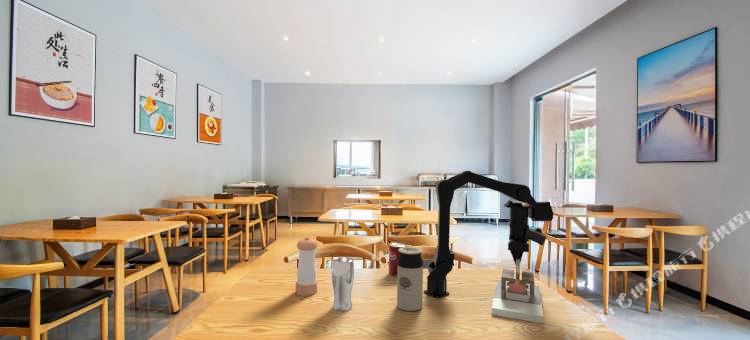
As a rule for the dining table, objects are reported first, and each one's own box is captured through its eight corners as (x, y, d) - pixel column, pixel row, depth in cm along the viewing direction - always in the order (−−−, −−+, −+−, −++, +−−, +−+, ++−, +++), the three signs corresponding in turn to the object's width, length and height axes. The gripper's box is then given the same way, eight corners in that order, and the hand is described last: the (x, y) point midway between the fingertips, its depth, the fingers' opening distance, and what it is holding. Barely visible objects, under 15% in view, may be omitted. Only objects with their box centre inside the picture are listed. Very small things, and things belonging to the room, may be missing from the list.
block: (525, 301, 108) (526, 285, 108) (508, 298, 110) (509, 282, 110) (525, 295, 112) (525, 280, 112) (509, 293, 114) (509, 278, 114)
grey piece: (528, 302, 106) (529, 266, 106) (506, 298, 109) (506, 263, 109) (528, 293, 114) (528, 259, 114) (507, 290, 116) (507, 257, 116)
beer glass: (357, 304, 108) (357, 257, 108) (348, 313, 102) (348, 263, 101) (337, 301, 110) (337, 255, 110) (327, 310, 104) (327, 261, 104)
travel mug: (407, 299, 113) (408, 245, 113) (427, 306, 107) (428, 249, 107) (391, 306, 107) (392, 249, 107) (411, 314, 102) (412, 254, 102)
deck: (543, 323, 97) (543, 316, 97) (491, 314, 102) (491, 307, 102) (538, 291, 122) (538, 286, 122) (497, 285, 127) (497, 280, 127)
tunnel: (533, 304, 105) (534, 281, 105) (501, 298, 109) (501, 277, 109) (532, 293, 115) (533, 272, 115) (502, 288, 118) (502, 268, 118)
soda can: (406, 271, 143) (406, 243, 142) (406, 277, 135) (406, 247, 135) (389, 270, 143) (389, 242, 143) (388, 276, 136) (388, 246, 136)
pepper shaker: (291, 294, 116) (292, 238, 116) (303, 287, 123) (304, 234, 123) (309, 297, 114) (310, 240, 113) (321, 290, 120) (321, 236, 120)
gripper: (547, 227, 105) (546, 277, 105) (543, 218, 122) (542, 262, 122) (508, 224, 109) (507, 272, 109) (509, 216, 126) (508, 258, 126)
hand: (517, 266), depth 117 cm, fingers closed
